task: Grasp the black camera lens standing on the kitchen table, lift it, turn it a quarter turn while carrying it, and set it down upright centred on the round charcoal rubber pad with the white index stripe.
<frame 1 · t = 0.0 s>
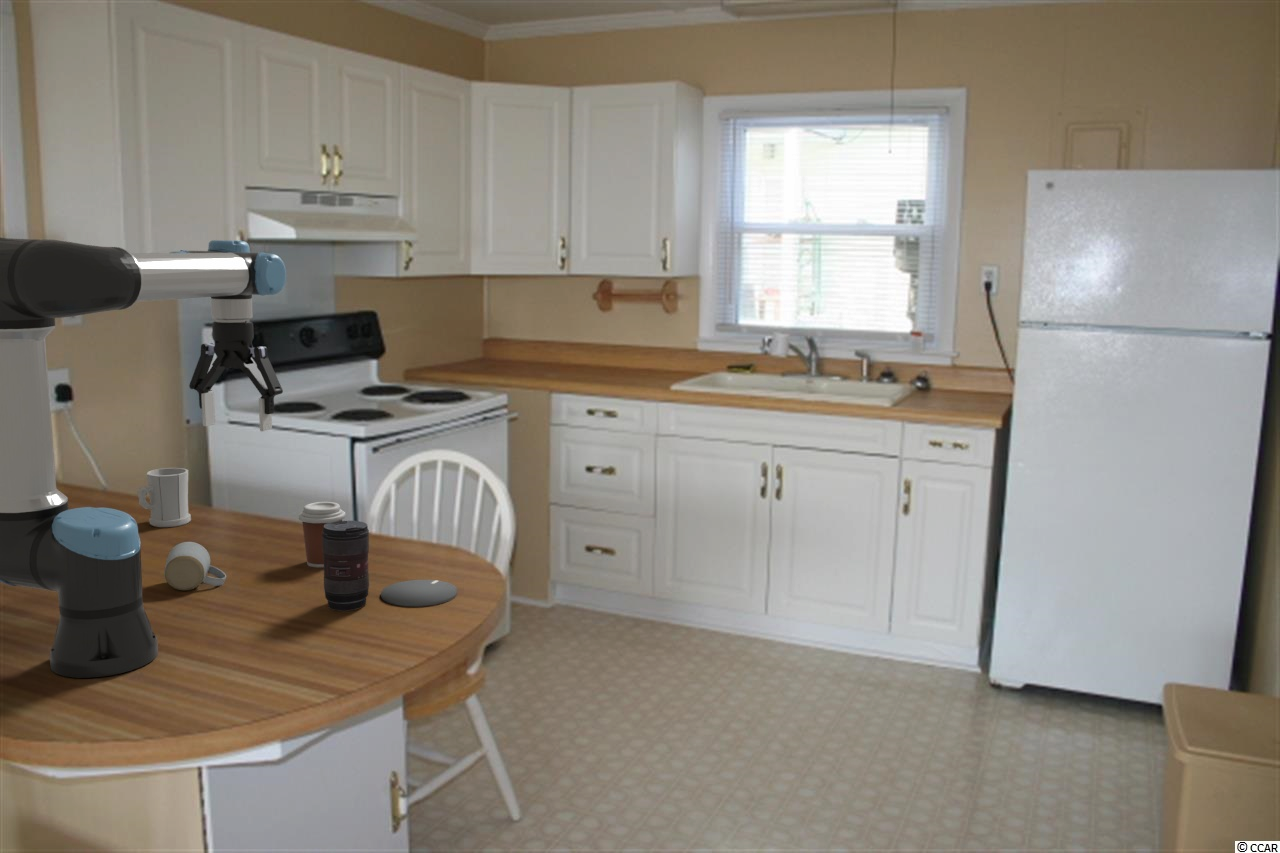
hand: (237, 427, 215), 28 cm above the table, fingers open, 13 cm apart
coffee cup: (323, 563, 222), on the table
ceramic mug: (195, 586, 207), on the table
camera lens: (347, 605, 197), on the table
cup: (168, 524, 249), on the table
pad: (419, 594, 204), on the table
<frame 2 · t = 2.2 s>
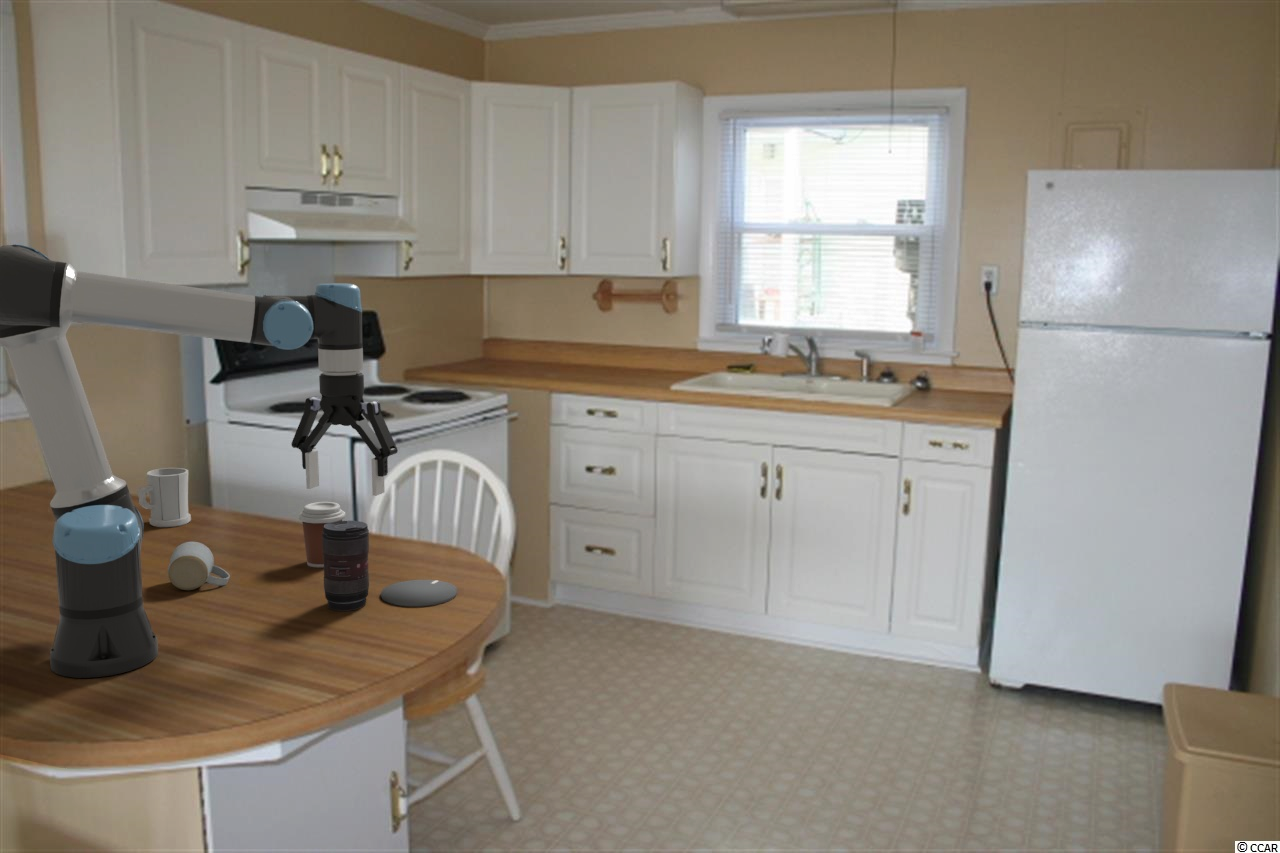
hand: (345, 490, 194), 21 cm above the table, fingers open, 13 cm apart
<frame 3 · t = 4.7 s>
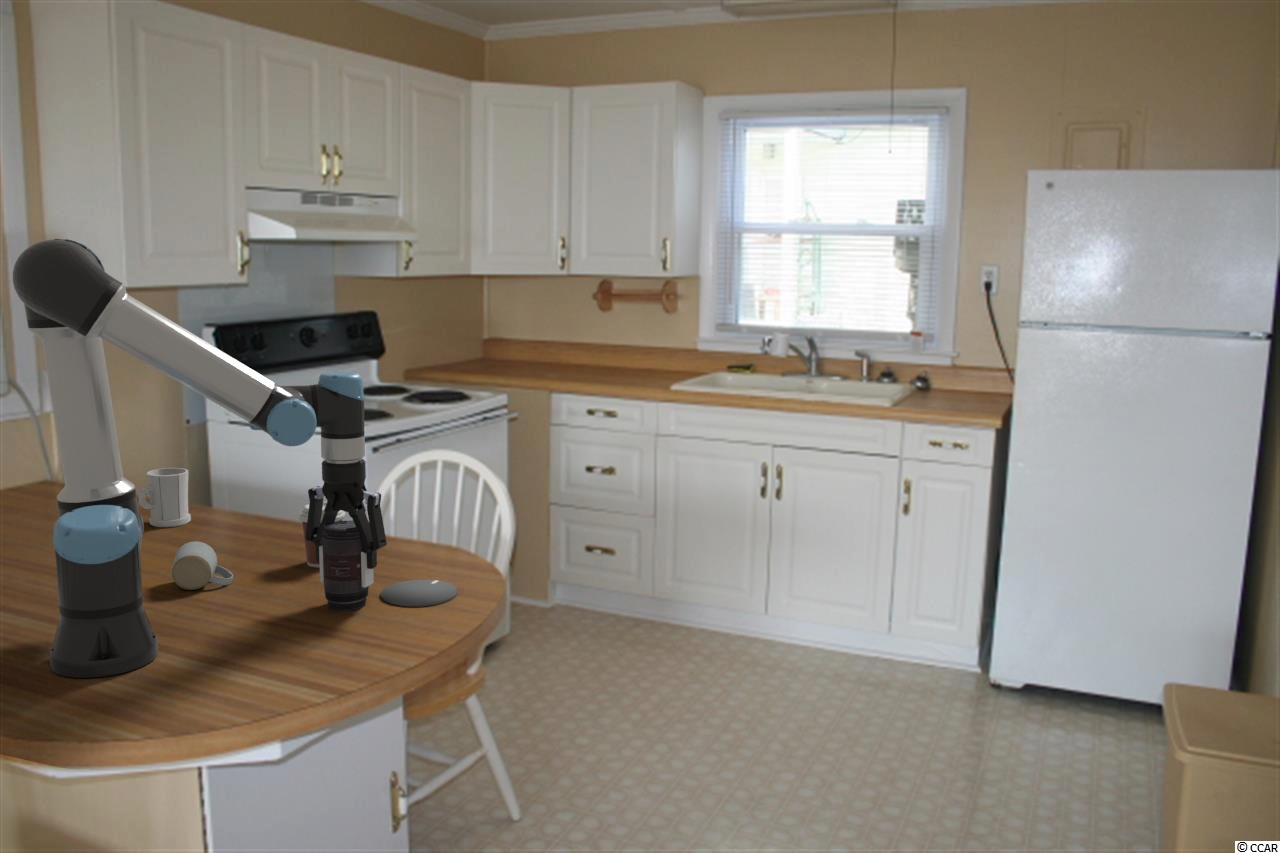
hand: (346, 582, 197), 4 cm above the table, fingers closed on camera lens, 8 cm apart
camera lens: (347, 605, 197), on the table, touching gripper
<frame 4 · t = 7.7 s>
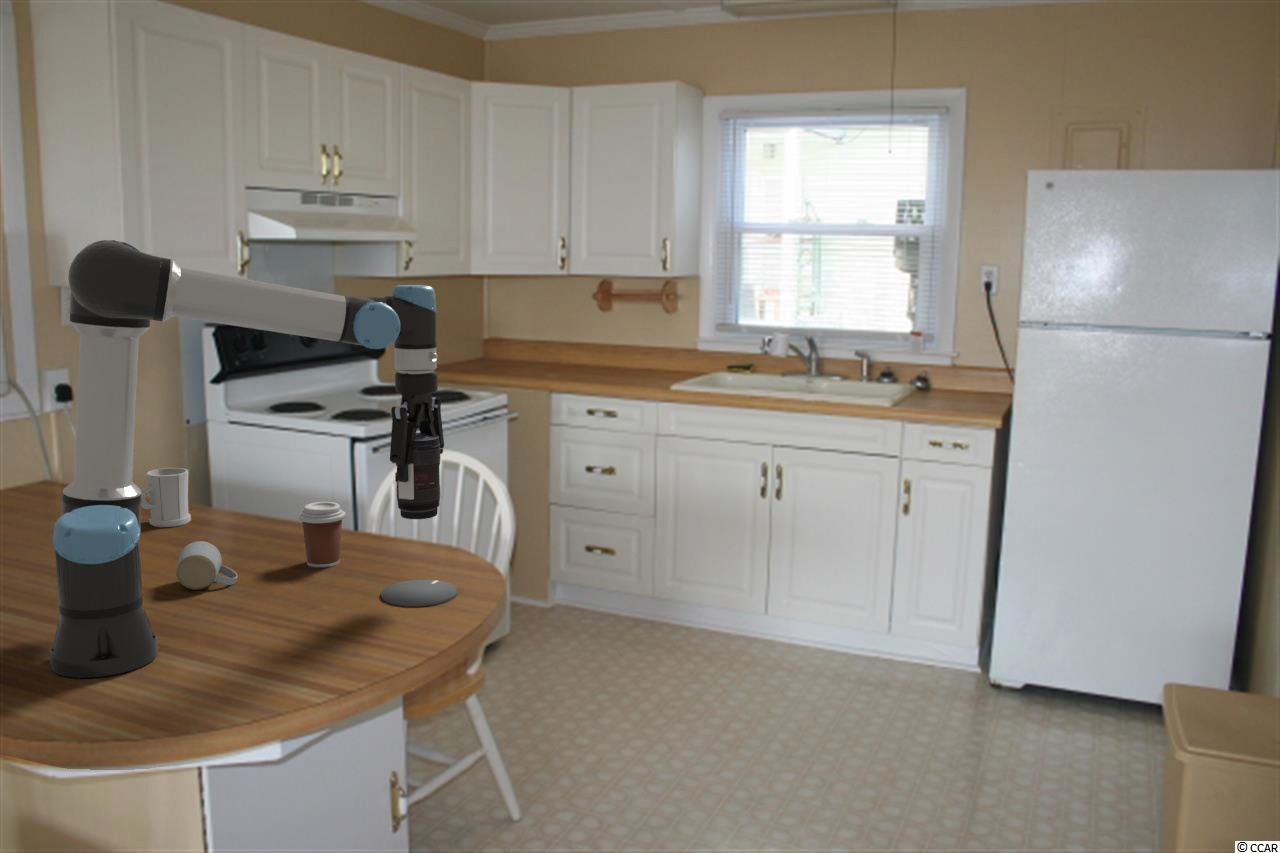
hand: (418, 493, 200), 19 cm above the table, fingers closed on camera lens, 8 cm apart
camera lens: (419, 516, 201), point 15 cm above the table, touching gripper
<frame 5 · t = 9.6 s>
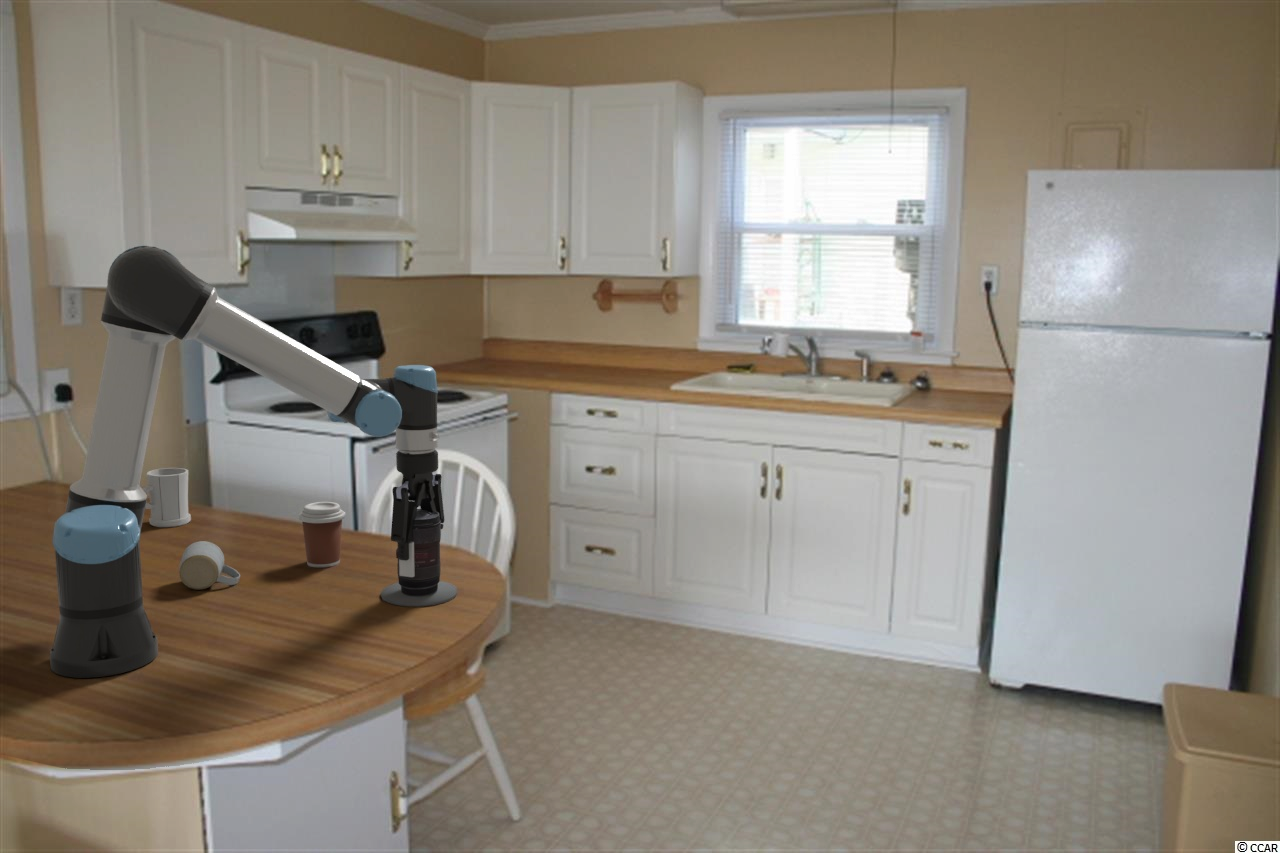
hand: (419, 569, 203), 5 cm above the table, fingers closed on camera lens, 8 cm apart
camera lens: (419, 591, 204), resting on pad, touching gripper
when the fingers open (4 cm above the table, at t = 10.9 s): camera lens stays where it is, resting on pad.
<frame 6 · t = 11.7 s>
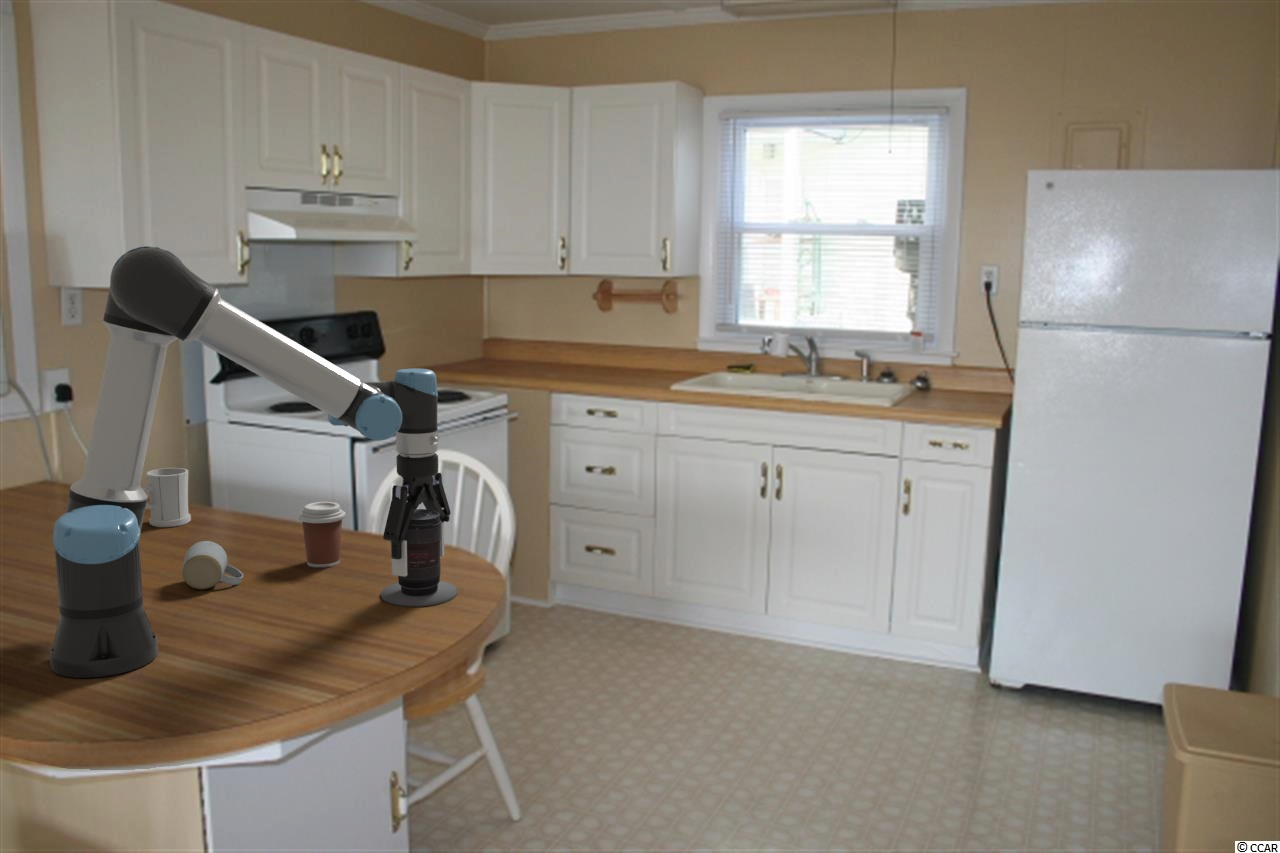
hand: (418, 565, 203), 6 cm above the table, fingers open, 13 cm apart
camera lens: (419, 592, 204), resting on pad
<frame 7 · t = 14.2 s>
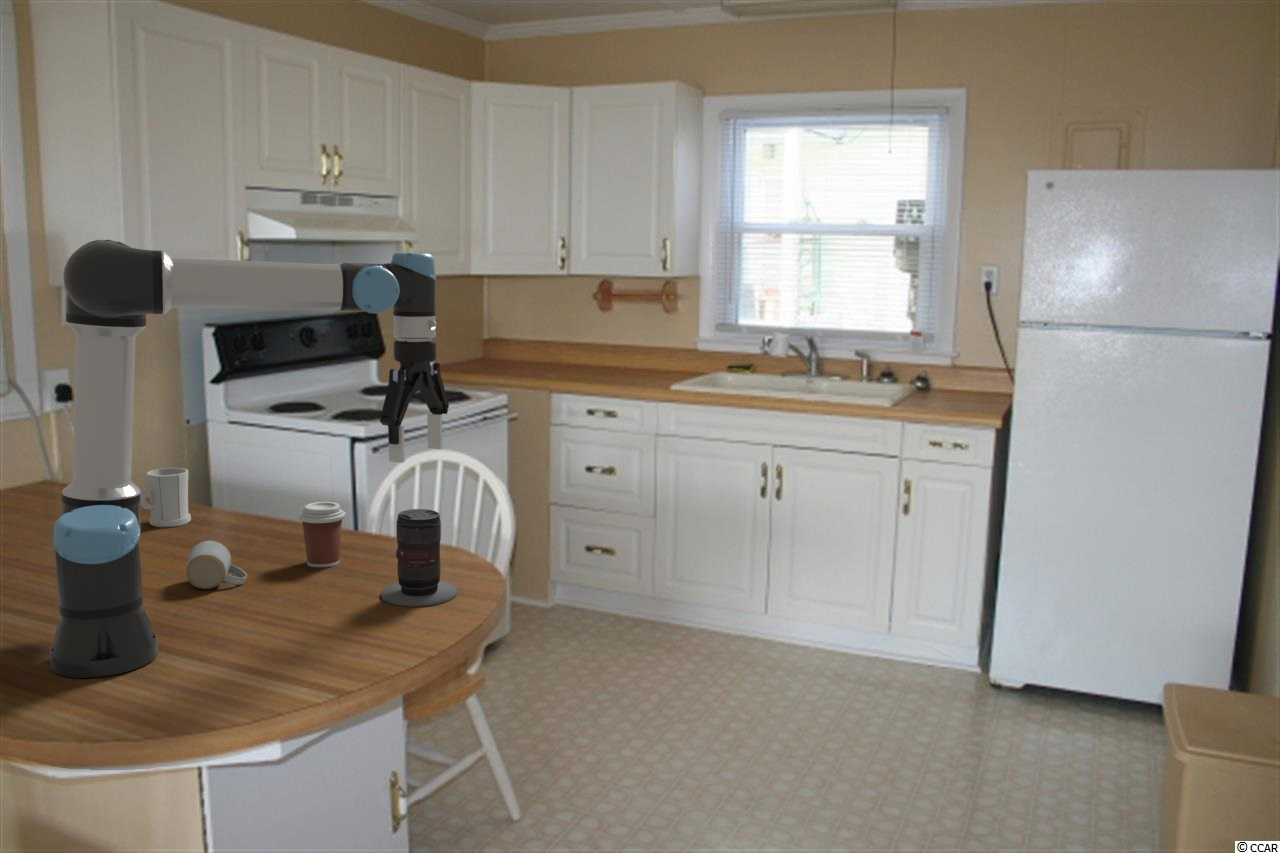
hand: (416, 455, 199), 27 cm above the table, fingers open, 13 cm apart
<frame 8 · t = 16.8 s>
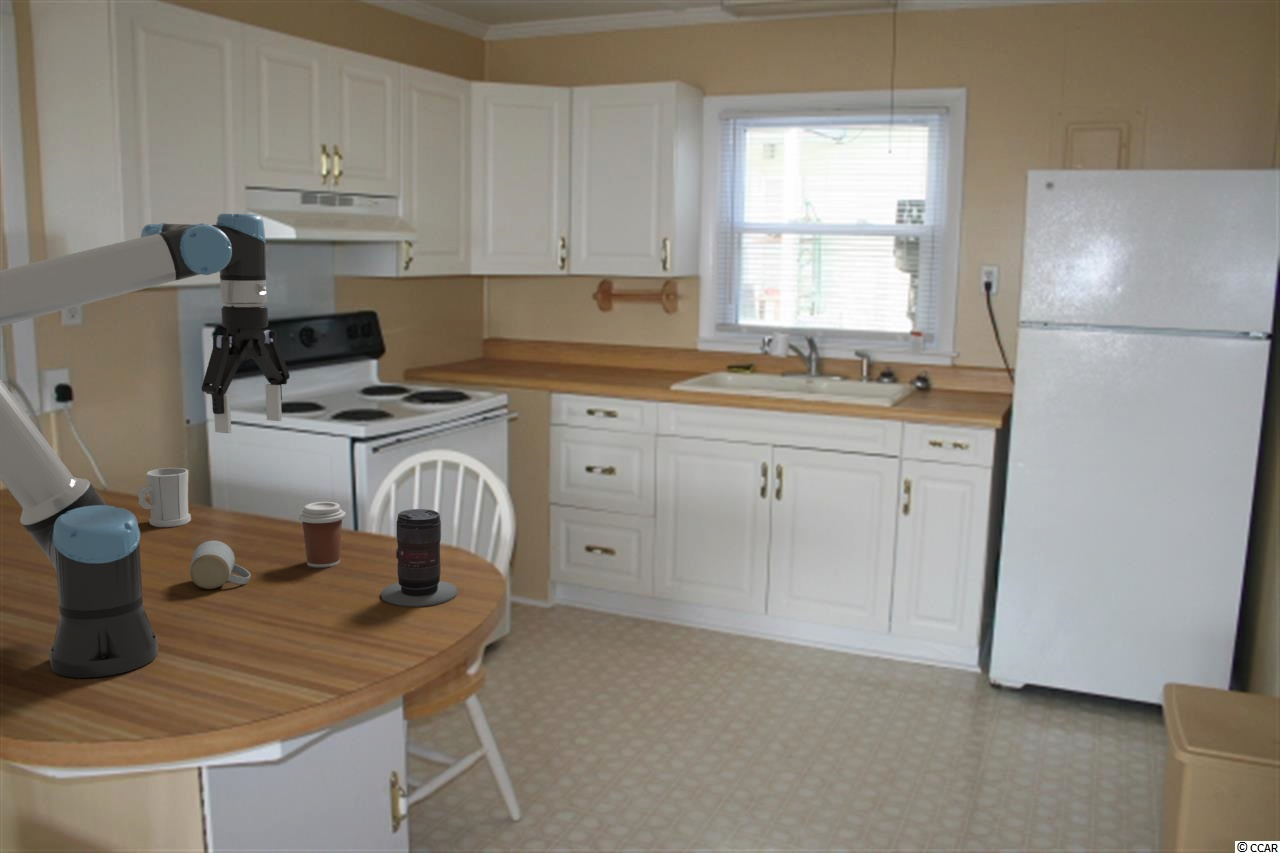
hand: (249, 426, 191), 33 cm above the table, fingers open, 13 cm apart
at the end: camera lens 0.1 cm from the pad (horizontally); camera lens tilted 0°; camera lens touching pad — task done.
